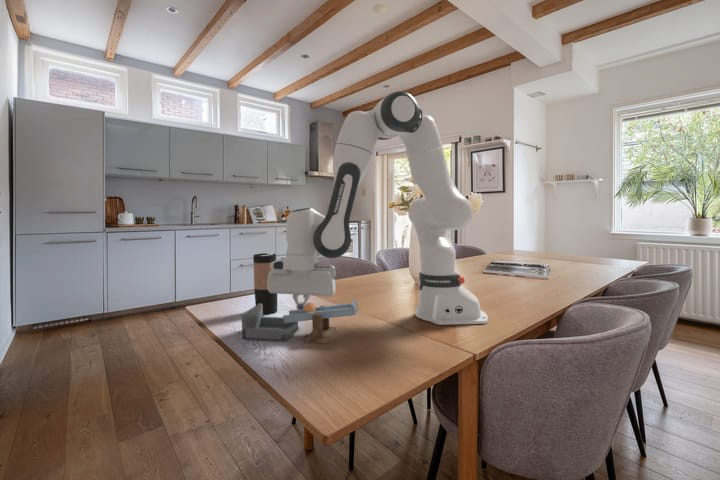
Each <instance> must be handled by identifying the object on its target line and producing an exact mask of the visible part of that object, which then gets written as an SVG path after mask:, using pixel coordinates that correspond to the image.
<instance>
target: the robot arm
mask: <svg viewBox="0 0 720 480" xmlns="http://www.w3.org/2000/svg"><path fill="white" fill-rule="evenodd" d="M395 137H398V138H400V140H401V141H402V143H403V145H404V146H405V152H406V157H407V161H408V165H409V169H410V174H411V179H412V181H413V183H414V184H415V185H416V186H417V187H418V188H419V190H420V191H421V192H422V194H423V196H422V197H420V198H418V199H416V200H414V201H413V202H412V203H410V205H409V207H408V211H407V212H408V213H407V214H408V215H407V216H408V219H409V221H410V222H411V224H412V225H413V227H414V229H415V230H414V231H416V232H415V233H416V236H417V239H418V245H419V253H420V255H419V256H420V265H419V266H420V272H419V273H418V288H419V289H418V290H419V294H418V302H417V307H416V311H415V314H414V315H415V317H417V318H418V319H421V320H423V321H427V322H430V323H432V324H435V325H439V326H441V325H444V326H445V325H446V326H449V325H480V324H482V325H484V324H486V323H487V322H489V317H488V314H487V312H485V311H483V310H482V309H481V305H480V301H479V298H477V296H476V295H475V294H474V293H472V292H471V291H470V290H468V289H467V288H466V287H465V286H464V285H462V284H465V282H466V278H464V276H463V275H460V274H459V273H457V272H456V266H457V264H456V263H457V262H456V261H457V260H456V259H457V257H456V255H457V254H456V253H457V251H456V249H455V246H454V245H453V244H452V243H451V240H450V238H449V235H448V232H453V231H458V230H461V229H464V228H466V227H467V226H469V224H470V223H471V221H472V219H473V215H474V209H473V206H472V203H471V201H470V200H469V199H468V198H466V197H465V196H464V195H463V194H462V193H461V192H460V190H459V189H458V188H457V186H456V184H455V182H454V181H453V179H452V177H451V174H450V172H449V168H448V164H447V159H446V156H445V151H444V146H443V141H442V138H441V135H440V131H439V129H438V126H437V124H436V122H435V120H434V118H433V117H432V116H430V115H428V114H423V110H422V109H421V108H420V106H419V104H418V102H417V101H416V98H415V97H414V96H413V95H412V94H411V93H409V92H406V91H402V90H401V91H399V90H398V91H393V92H391V93H389V94H388V95H386V97H383V98H382V99H381V100H380V101H379V102H377V104H376V105H375V106H374V107H373V108H372V109H371V110H370V111H369V112H366V111H365V110H364V111H362V110H354V111H352V112H350V113H348V114H347V116H346V117H345V119H344V122H343V124H342V126H341V128H340V131H339V134H338V138H337V140H336V143H335V148H334V152H333V159H332V173H333V188H332V192H331V197H330V200H329V204H328V208H327V212H326V215H323V214H322V213H320V212H318V211H317V210H315V209H314V208H313V207H305V208H298V209H293V210H292V211H291V212H289V213H288V215H287V219H286V227H285V231H286V232H285V238H286V239H285V240H286V244H287V246H286V247H287V248H286V252H285V256H286V257H282V258H280V259H276V261H273V262H272V263H270V268H271V269H272V270H271V271H270V272H269V274H268V282H267V289H268V291H269V292H270V293H276V294H277V295H292V299H293V300H294V302H295V304H296V310H298V309H304V306H305V305H306V304H307V303H308V301H309V299H310V298H311V296H316V297H318V296H319V297H332V296H333V295H334V294H335V293H336V279H335V278H336V277H337V271H336V268H335V267H334V265H332V264H330V263H326V264H325V263H317V260H318V259H317V255H318V254H320V255H321V256H322V257H324V258H329V259H337V258H339V257H342V256H343V255H344V254H346V253H347V251H348V250H349V248H350V247H351V243H352V234H351V229H350V219H351V215H352V210H353V208H354V207H353V206H354V203H355V202H354V201H355V198H356V195H357V191H358V189H359V187H360V184H361V183H362V181H363V179H364V178H365V176H366V174H367V171H368V169H369V166H370V164H371V161H372V157H373V155H374V150H375V145H376V143H377V141H378V140H380V141H386V140H390V139H392V138H395ZM317 253H318V254H317ZM300 296H303V299H304V300H303V301H302V302H301V300H300V299H299V297H300Z"/></svg>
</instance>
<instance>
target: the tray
mask: <svg viewBox="0 0 720 480" xmlns="http://www.w3.org/2000/svg"><path fill="white" fill-rule="evenodd" d="M240 316H241V335H242V337H241V338H242V340H243V341H244V340H245V341H246V340H247V341H249V340H250V341H265V342H266V341H267V342H285V341H287V339H289V338H290V337H291V336H292V335H293V334H294V333H295V332H296V330H298V329H299V322H290V323H284V320H283V316H282V317H280V316H264V315H263V304H258V305H254V306H253V307H251V308H250V309H248V310H246V311H244V312H243V313H241V315H240Z"/></svg>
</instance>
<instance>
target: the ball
mask: <svg viewBox="0 0 720 480" xmlns="http://www.w3.org/2000/svg"><path fill="white" fill-rule="evenodd" d="M315 310H316V305H315V303H313V302H307V303H306V305H305V306H304V311H305V312H306V313H309V312H315Z"/></svg>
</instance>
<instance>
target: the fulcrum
mask: <svg viewBox="0 0 720 480" xmlns="http://www.w3.org/2000/svg"><path fill="white" fill-rule="evenodd" d="M324 306H325V305H321V306H319V307H324ZM311 322H312V324H311V325H312V331H311V332H310V333H309V334H308V335H307V337H305V343H314V344H315V343H316V344H317V343H318V344H328V343H329V341H330V340H331V339H332V337H333V336H334V334H335V332H336V331H337V327H336V326H330V318H325V319H322V314H313V315H312V320H311Z"/></svg>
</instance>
